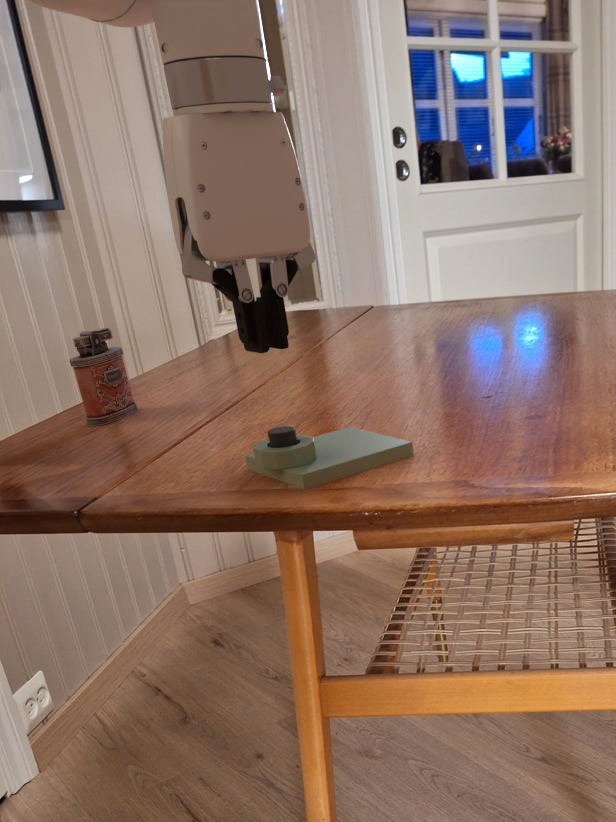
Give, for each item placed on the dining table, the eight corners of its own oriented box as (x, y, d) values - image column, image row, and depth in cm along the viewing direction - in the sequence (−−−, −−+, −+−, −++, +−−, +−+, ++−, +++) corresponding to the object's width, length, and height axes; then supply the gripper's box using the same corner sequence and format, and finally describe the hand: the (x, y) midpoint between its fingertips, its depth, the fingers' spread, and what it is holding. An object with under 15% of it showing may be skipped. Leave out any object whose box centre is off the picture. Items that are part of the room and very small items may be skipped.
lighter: (105, 425, 101) (81, 336, 97) (80, 425, 102) (55, 337, 97) (144, 408, 108) (123, 324, 103) (120, 409, 109) (98, 325, 104)
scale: (293, 494, 74) (287, 459, 72) (236, 473, 80) (229, 441, 79) (414, 456, 81) (410, 424, 80) (352, 440, 88) (348, 410, 86)
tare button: (279, 452, 76) (276, 434, 75) (265, 447, 77) (262, 430, 77) (302, 445, 77) (300, 428, 76) (288, 441, 79) (285, 424, 78)
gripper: (284, 98, 71) (319, 332, 80) (100, 100, 63) (161, 362, 71) (335, 87, 66) (367, 337, 75) (142, 87, 58) (203, 371, 66)
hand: (266, 348), depth 73 cm, fingers closed
